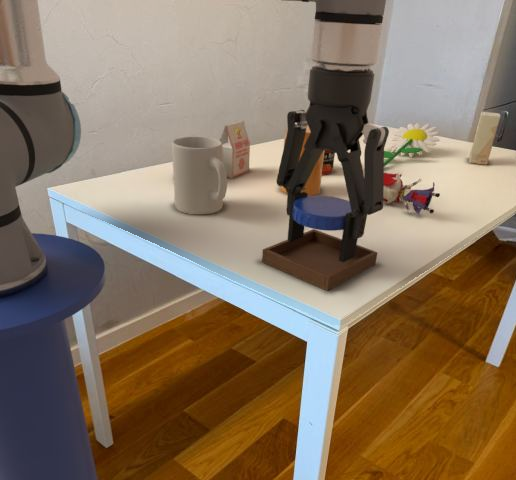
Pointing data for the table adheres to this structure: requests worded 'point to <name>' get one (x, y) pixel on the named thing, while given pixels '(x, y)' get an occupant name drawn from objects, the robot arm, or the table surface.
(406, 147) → the decorative flower
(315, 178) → the honey jar
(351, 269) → the tray
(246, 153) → the gable top carton
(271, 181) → the table surface
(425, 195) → the figurine
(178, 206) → the mug
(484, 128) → the box
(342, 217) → the jar lid
